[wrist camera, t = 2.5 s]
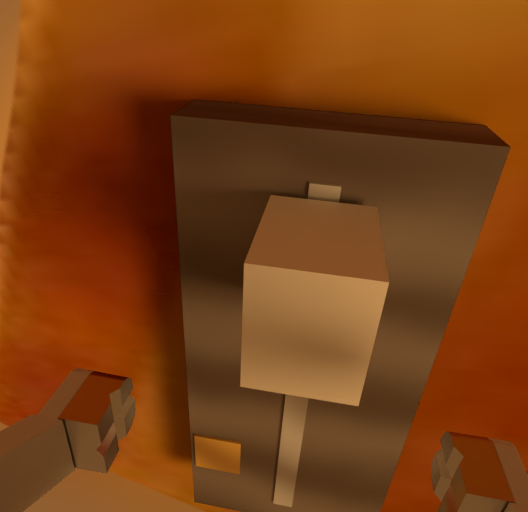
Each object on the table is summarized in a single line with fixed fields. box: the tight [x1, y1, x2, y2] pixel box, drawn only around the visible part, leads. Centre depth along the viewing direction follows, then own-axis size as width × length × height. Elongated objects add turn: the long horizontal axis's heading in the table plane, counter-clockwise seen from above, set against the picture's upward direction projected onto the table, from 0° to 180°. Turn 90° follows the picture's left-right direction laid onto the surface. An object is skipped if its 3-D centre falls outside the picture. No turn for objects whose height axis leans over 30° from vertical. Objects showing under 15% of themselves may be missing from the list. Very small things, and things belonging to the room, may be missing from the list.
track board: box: [170, 100, 510, 512], centre depth 23 cm, size 26×12×3 cm, turn 177°
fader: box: [240, 195, 389, 406], centre depth 15 cm, size 5×4×5 cm
